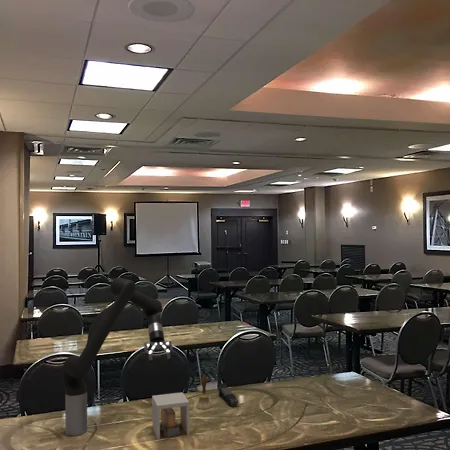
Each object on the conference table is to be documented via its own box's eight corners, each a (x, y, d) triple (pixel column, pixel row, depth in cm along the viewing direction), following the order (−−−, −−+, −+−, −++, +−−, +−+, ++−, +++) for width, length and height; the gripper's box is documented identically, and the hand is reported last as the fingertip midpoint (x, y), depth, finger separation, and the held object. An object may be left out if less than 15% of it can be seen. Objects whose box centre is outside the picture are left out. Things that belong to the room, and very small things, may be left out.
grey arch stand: (157, 438, 204) (157, 405, 205) (152, 426, 217) (152, 395, 218) (189, 434, 208) (189, 401, 209) (182, 422, 222) (182, 392, 222)
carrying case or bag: (187, 403, 249) (177, 395, 263) (187, 397, 249) (177, 389, 263) (167, 406, 245) (158, 398, 258) (167, 400, 245) (158, 392, 258)
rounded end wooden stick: (176, 433, 210) (176, 414, 210) (168, 434, 209) (167, 415, 209) (168, 418, 227) (168, 401, 227) (161, 419, 226) (160, 402, 226)
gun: (223, 393, 262) (225, 377, 259) (236, 417, 245) (239, 401, 242) (215, 394, 261) (217, 378, 258) (228, 418, 243) (230, 402, 240)
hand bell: (209, 402, 249) (209, 371, 249) (214, 408, 241) (213, 376, 241) (194, 404, 246) (193, 373, 246) (198, 410, 238) (197, 377, 239)
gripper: (143, 330, 245) (146, 358, 234) (170, 328, 249) (175, 355, 238) (141, 339, 250) (145, 366, 238) (168, 336, 254) (173, 363, 243)
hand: (160, 361), depth 238 cm, fingers open, 8 cm apart
